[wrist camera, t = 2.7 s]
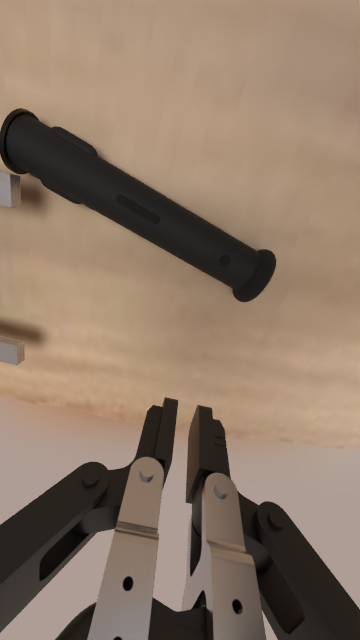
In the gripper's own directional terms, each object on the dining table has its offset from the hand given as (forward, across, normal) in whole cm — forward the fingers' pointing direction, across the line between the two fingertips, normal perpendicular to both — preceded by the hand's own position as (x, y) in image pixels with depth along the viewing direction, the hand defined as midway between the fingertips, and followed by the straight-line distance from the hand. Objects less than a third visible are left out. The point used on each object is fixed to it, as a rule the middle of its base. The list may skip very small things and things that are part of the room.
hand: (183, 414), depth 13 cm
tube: (+18, +6, -9) cm, 20 cm away
